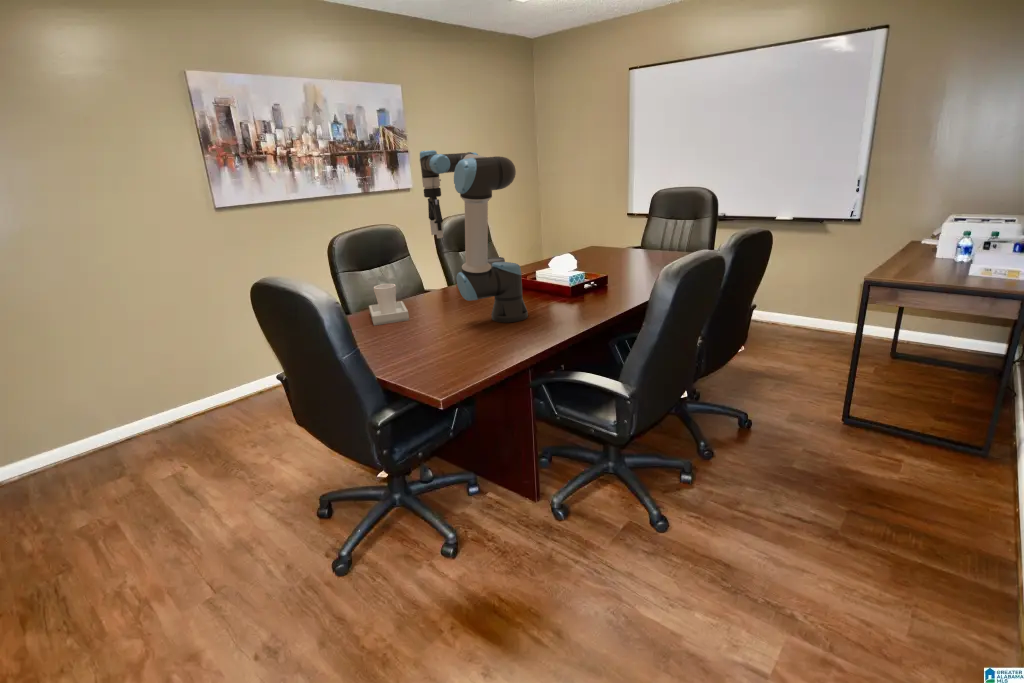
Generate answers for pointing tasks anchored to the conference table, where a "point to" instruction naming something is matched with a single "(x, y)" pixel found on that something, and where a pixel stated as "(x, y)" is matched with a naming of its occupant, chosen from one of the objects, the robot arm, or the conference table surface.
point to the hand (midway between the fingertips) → (437, 236)
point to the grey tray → (391, 317)
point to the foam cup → (386, 298)
